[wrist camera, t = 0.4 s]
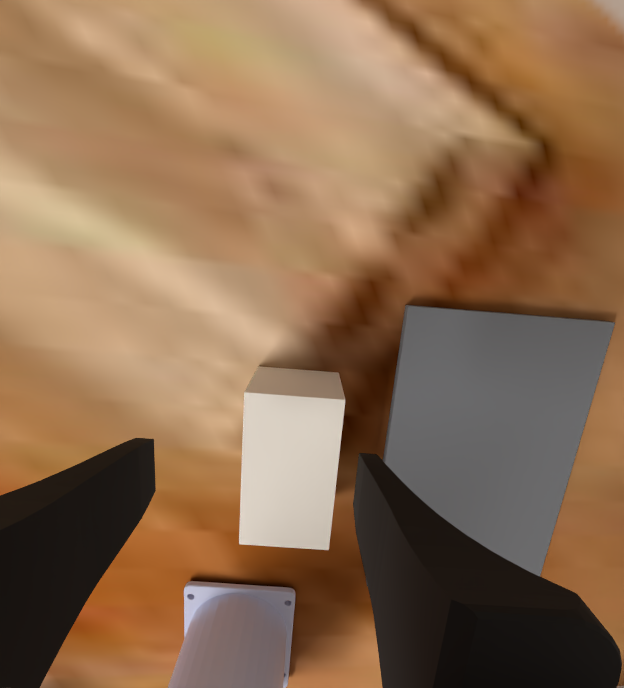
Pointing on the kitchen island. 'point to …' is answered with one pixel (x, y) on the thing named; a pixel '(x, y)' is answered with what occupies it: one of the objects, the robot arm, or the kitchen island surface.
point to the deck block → (290, 457)
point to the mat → (493, 419)
